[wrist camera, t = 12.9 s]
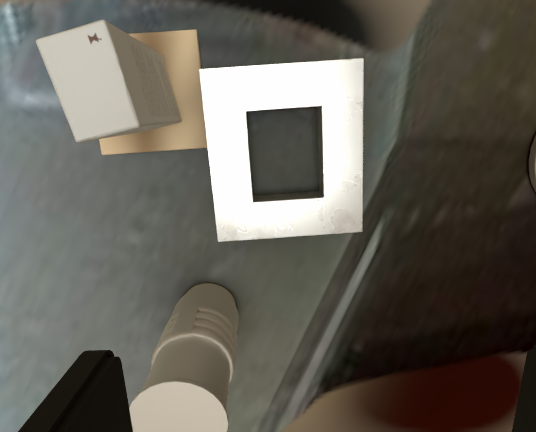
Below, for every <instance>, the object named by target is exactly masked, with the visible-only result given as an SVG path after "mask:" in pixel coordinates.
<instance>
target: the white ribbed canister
mask: <svg viewBox="0 0 536 432" xmlns="http://www.w3.org/2000/svg"><path fill="white" fill-rule="evenodd" d="M238 322H239V316H238V311H237V308H236V304H235V300H234V298H233V296H232V295H231V294H230V292H229V291H228V290H226V289H225V288H223V287H222V286H219V285H217V284H211V283H205V284H199V285H196V286H194V287H193V288H191V289H190V290H188V292H187V293H186V294H185V295H184V296H183V297H181V299H180V300H179V301H178V302H177V303H176V306H175V308H174V310H173V313H172V317H171V318H170V320H169V321H168V322H167V324H166V326H165V329H164V331H163V333H162V335H161V337H160V340H159V342H158V344H157V346H156V348H155V351H154V353H153V355H152V360H151V370H150V372H149V375H148V377H147V379H146V381H145V384H144V386H143V388H142V389H141V391H140V392H139V393H138V394H137V395H136V396H135V397H134V399H133V402H132V404H131V406H130V408H129V410H130V416H131V422H132V428H133V432H227V428H228V421H229V419H228V412H227V408H226V405H227V396H228V387H229V384H230V382H231V380H232V378H233V375H234V369H235V359H236V350H237V328H238Z"/></svg>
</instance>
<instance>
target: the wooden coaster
mask: <svg viewBox="0 0 536 432" xmlns="http://www.w3.org/2000/svg"><path fill="white" fill-rule="evenodd" d="M128 35H130V36H132V37H133V38H135V39H137V40H139V41H140V42H142V43H143V44H145V45H147V46H149V47H150V48H152V49H154V50H155V51H157V52H159V53H160V54H162V56H163V60H164V63H165V66H166V70H167V73H168V76H169V79H170V83H171V86H172V89H173V93H174V96H175V99H176V103H177V106H178V109H179V112H180V116H181V119H182V122H180V123H177V124H172V125H168V126H165V127H161V128H157V129H153V130H148V131H144V132H140V133H133V134H127V135H121V136H115V137H109V138H103V139H99V142H100V147H101V152H102V155H107V154H121V153H136V152H151V151H165V150H180V149H195V148H208V144H207V135H206V126H205V117H204V108H203V99H202V90H201V80H200V71H199V69H201V60H200V51H199V41H198V32H197V30H182V31H167V32H152V33H137V34H128Z"/></svg>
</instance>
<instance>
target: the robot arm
mask: <svg viewBox="0 0 536 432" xmlns="http://www.w3.org/2000/svg"><path fill="white" fill-rule="evenodd" d="M529 175H530V179H531V184H532V186H533V188H534V190H535V192H536V135H535V138H534V141H533V144H532V146H531V151H530V156H529ZM18 432H133V428H132V422H131V416H130V410H129V405H128V399H127V393H126V387H125V381H124V375H123V369H122V363H121V359H120V358H119V357H114V354H113V352H112V351H110V350H95V351H84V352H83V353H82V354H81V355H80V356H79V357H78V358H77V360H76V361H75V362H74V363H73V365H72V366H71V367H70V368H69V369H68V371H67V372H66V373H65V374H64V376H63V377H62V378H61V379H60V381H59V382H58V383H57V384H56V386H55V387H54V388H53V389H52V390H51V392H50V393H49V394H48V395H47V397H46V398H45V399H44V400H43V402H42V403H41V404H40V405H39V406H38V408H37V409H36V410H35V411H34V413H33V414H32V415H31V416H30V418H29V419H28V420H27V421H26V423H25V424H24V425H23V426H22V427H21V429H20V430H19V431H18ZM512 432H536V344H535V345H534V347H533V349H532V350H529V351H528V353H527V356H526V361H525V367H524V372H523V377H522V382H521V387H520V392H519V398H518V403H517V408H516V413H515V418H514V424H513V429H512Z"/></svg>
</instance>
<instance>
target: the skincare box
mask: <svg viewBox="0 0 536 432" xmlns="http://www.w3.org/2000/svg"><path fill="white" fill-rule="evenodd" d="M36 43H37V46H38V48H39V51H40V53H41V56H42V58H43V61H44V63H45V66H46V68H47V71H48V73H49V76H50V78H51V81H52V83H53V86H54V88H55V91H56V93H57V95H58V98H59V100H60V103H61V105H62V108H63V110H64V113H65V115H66V117H67V120H68V122H69V125H70V127H71V130H72V133H73V135H74V138H75V141H76V142H85V141H91V140H97V139H103V138H109V137H115V136H121V135H127V134H133V133H140V132H144V131H148V130H153V129H157V128H161V127H165V126H168V125H172V124H177V123H180V122H182V119H181V116H180V112H179V109H178V106H177V103H176V99H175V96H174V93H173V89H172V86H171V83H170V79H169V76H168V73H167V70H166V66H165V63H164V60H163V56H162V54H160V53H159V52H157V51H155V50H154V49H152V48H150V47H149V46H147V45H145V44H143V43H142V42H140V41H139V40H137V39H135V38H133V37H132V36H130V35H128V34H127V33H125V32H123V31H122V30H120V29H118V28H117V27H115V26H113V25H112V24H110V23H108V22H107V21H105V20H99V21H96V22H93V23H90V24H86V25H83V26H80V27H77V28H73V29H70V30H67V31H64V32H60V33H57V34H54V35H50V36H47V37H43V38H40V39H37V40H36Z"/></svg>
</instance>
